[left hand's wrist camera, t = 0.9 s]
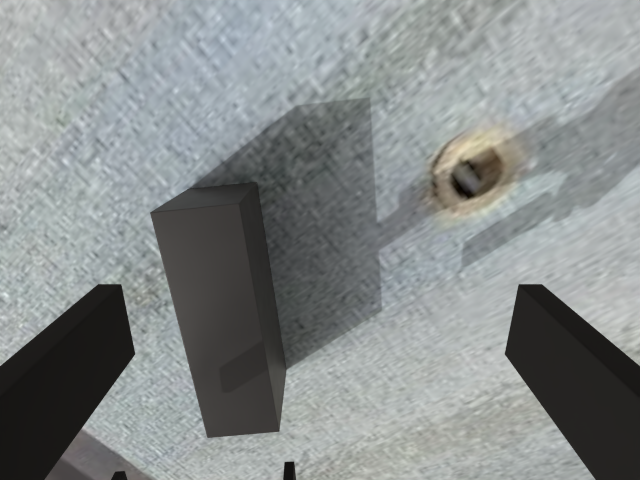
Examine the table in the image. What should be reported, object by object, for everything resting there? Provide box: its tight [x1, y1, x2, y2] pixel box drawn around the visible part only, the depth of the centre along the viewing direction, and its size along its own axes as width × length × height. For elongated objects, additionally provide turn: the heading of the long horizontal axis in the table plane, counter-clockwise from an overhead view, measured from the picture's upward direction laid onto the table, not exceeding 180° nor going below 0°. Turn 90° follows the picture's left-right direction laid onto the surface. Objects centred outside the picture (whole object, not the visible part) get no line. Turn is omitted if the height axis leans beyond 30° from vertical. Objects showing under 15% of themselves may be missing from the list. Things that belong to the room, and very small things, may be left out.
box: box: [150, 182, 286, 438], centre depth 38 cm, size 23×7×9 cm, turn 6°
